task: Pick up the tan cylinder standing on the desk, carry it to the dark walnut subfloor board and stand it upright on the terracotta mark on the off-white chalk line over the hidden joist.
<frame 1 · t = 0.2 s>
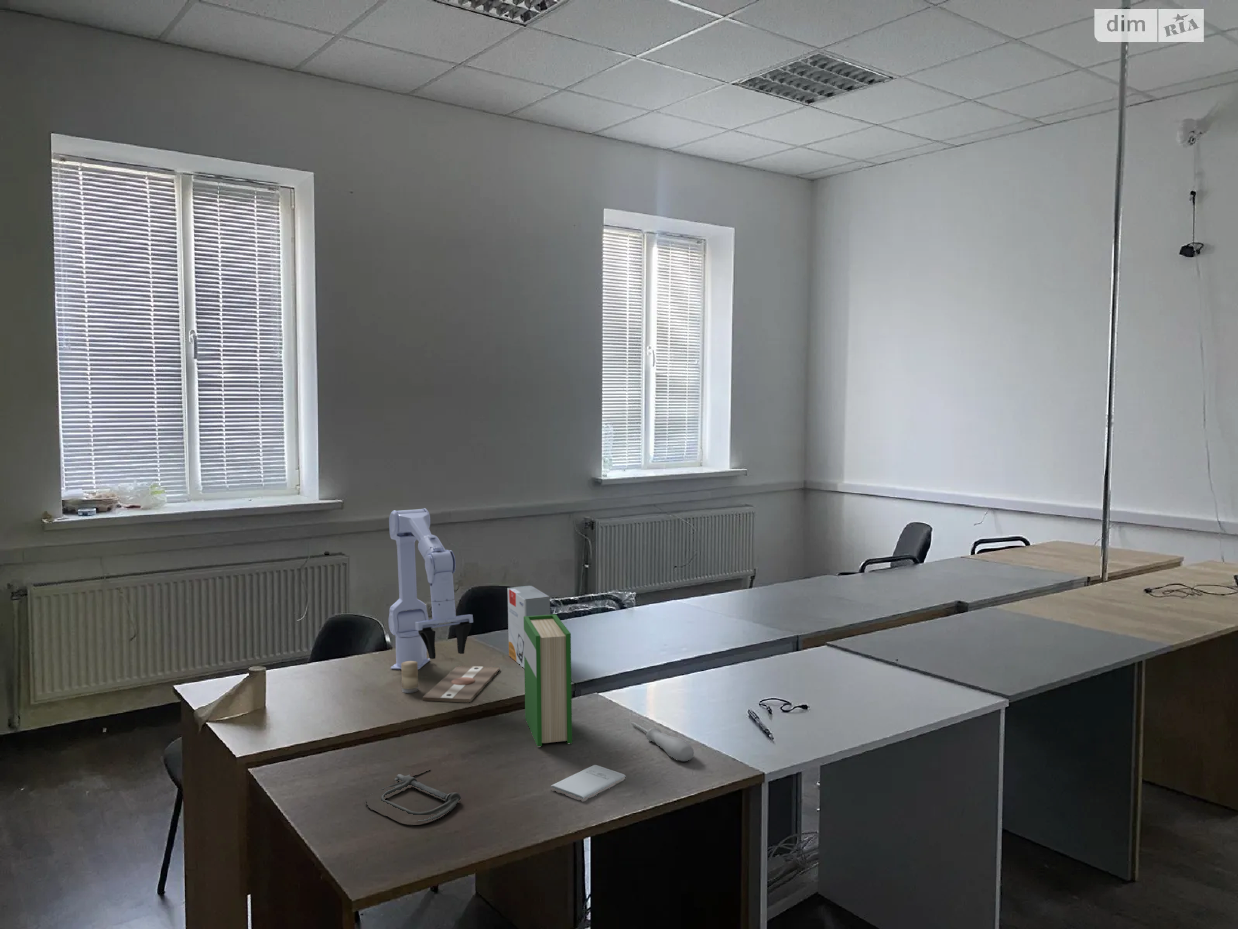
hand: (447, 656, 221), 10 cm above the table, tool pointing down, fingers open, 7 cm apart
hard drive box: (529, 662, 252), on the table
external hard drive: (588, 788, 171), on the table
hardback book: (547, 732, 199), on the table
screwdriver: (658, 746, 191), on the table
subfloor board: (463, 684, 232), on the table
c clamp: (419, 802, 166), on the table
tan cylinder: (410, 690, 227), on the table
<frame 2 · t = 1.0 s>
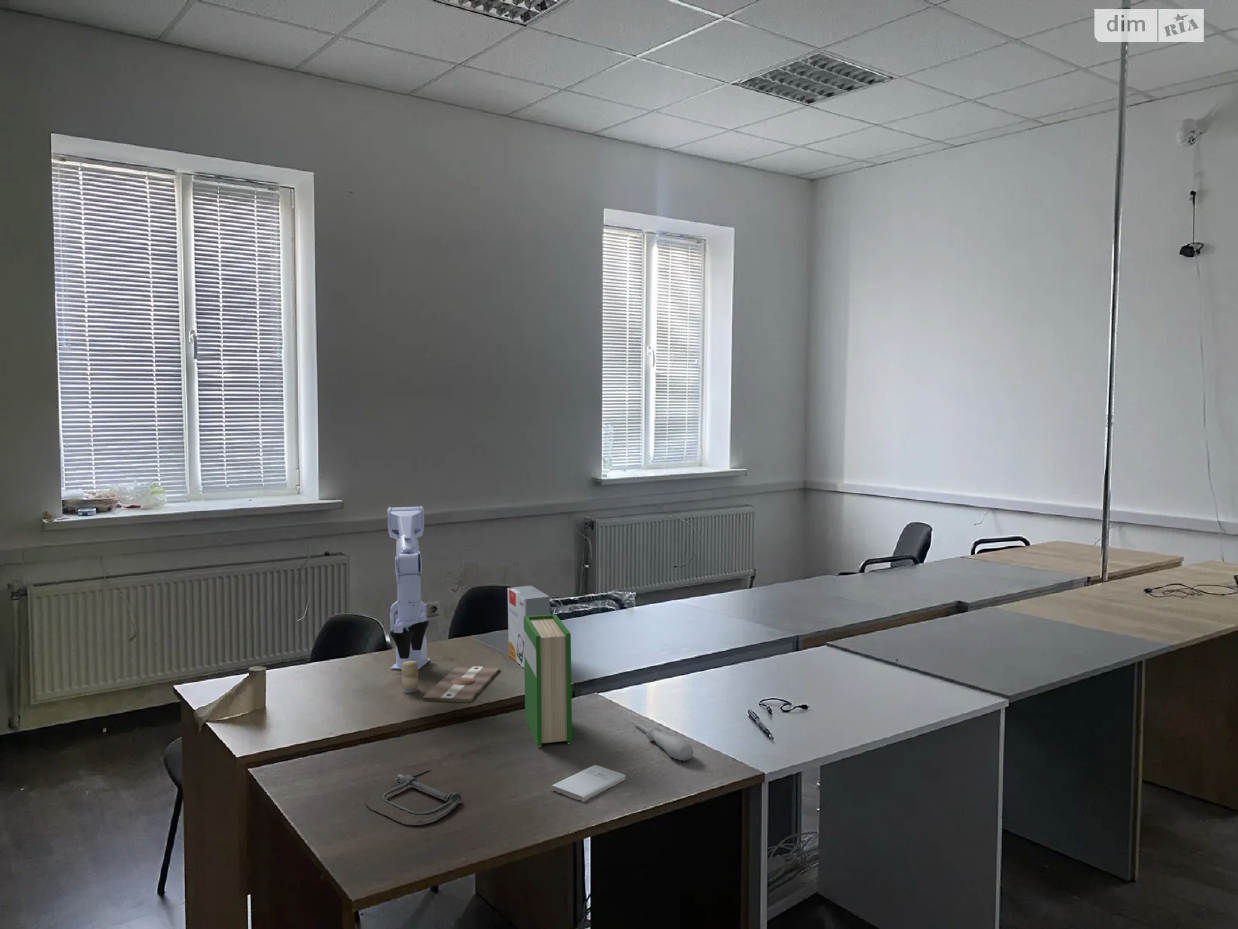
hand: (410, 654, 226), 9 cm above the table, tool pointing down, fingers open, 7 cm apart
nothing on the table moved.
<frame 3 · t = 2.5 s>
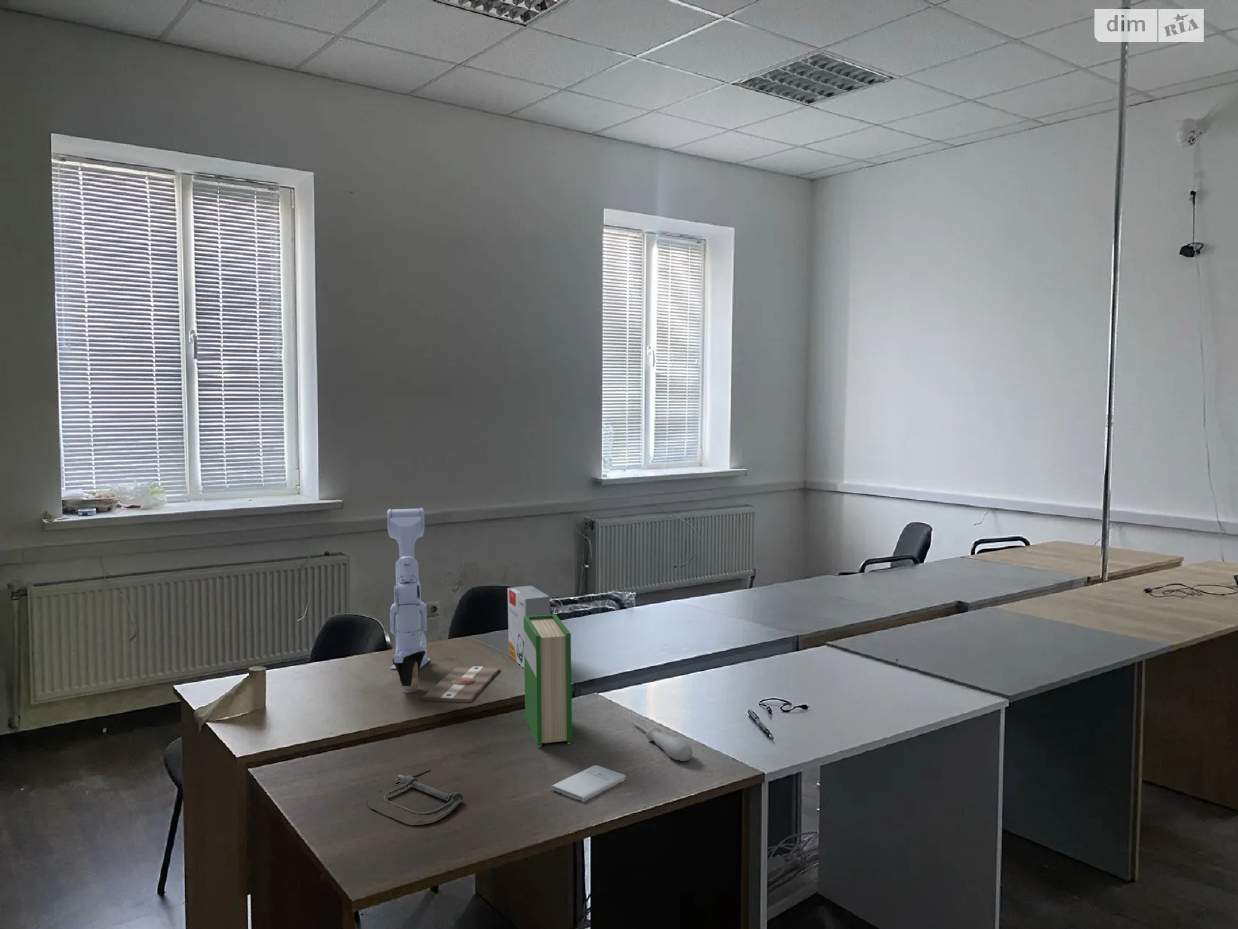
hand: (409, 683, 227), 2 cm above the table, tool pointing down, fingers closed on tan cylinder, 4 cm apart
tan cylinder: (410, 690, 227), on the table, touching gripper
everything else where it was.
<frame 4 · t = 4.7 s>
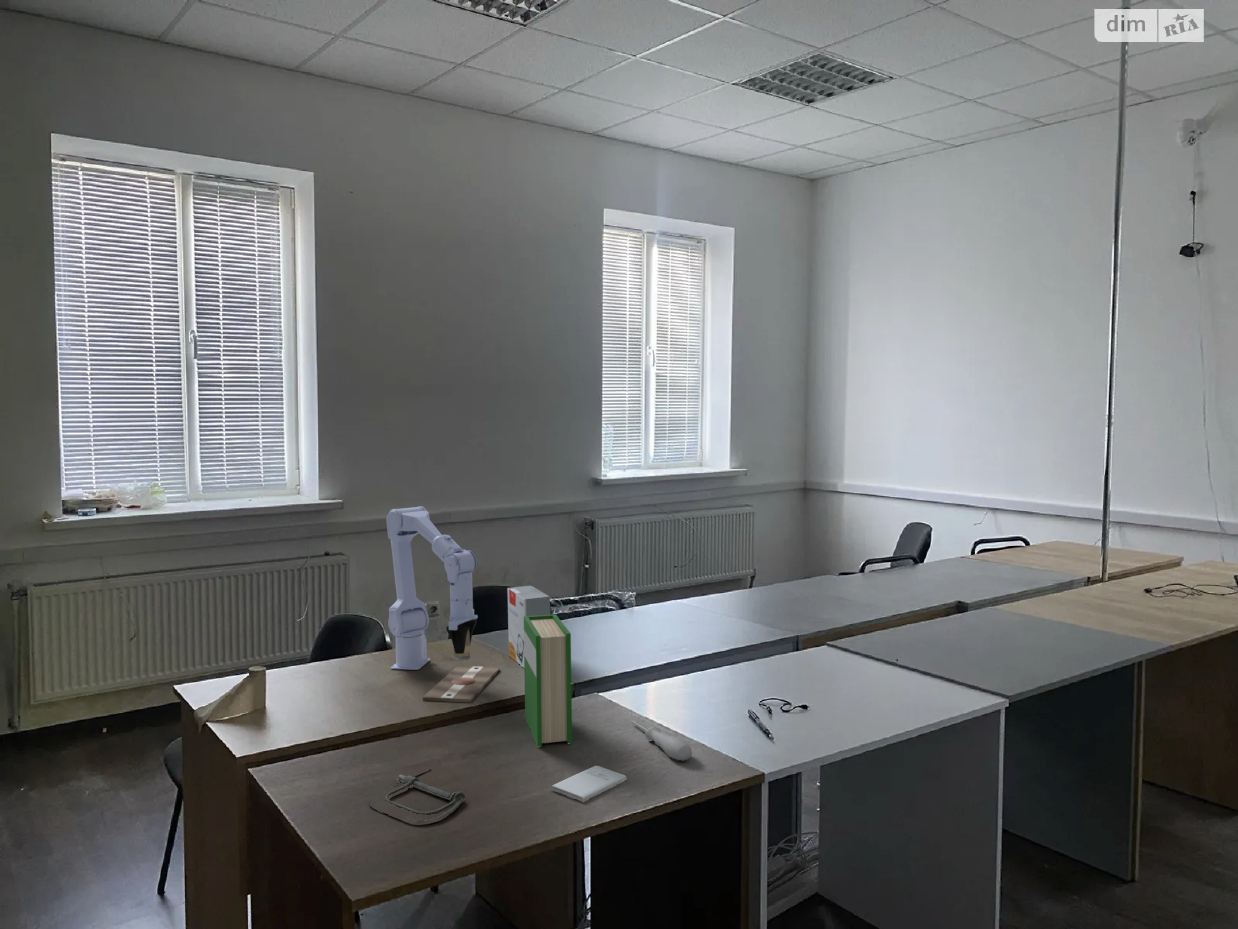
hand: (462, 650, 231), 9 cm above the table, tool pointing down, fingers closed on tan cylinder, 4 cm apart
tan cylinder: (462, 658, 231), point 7 cm above the table, touching gripper
everything else where it was.
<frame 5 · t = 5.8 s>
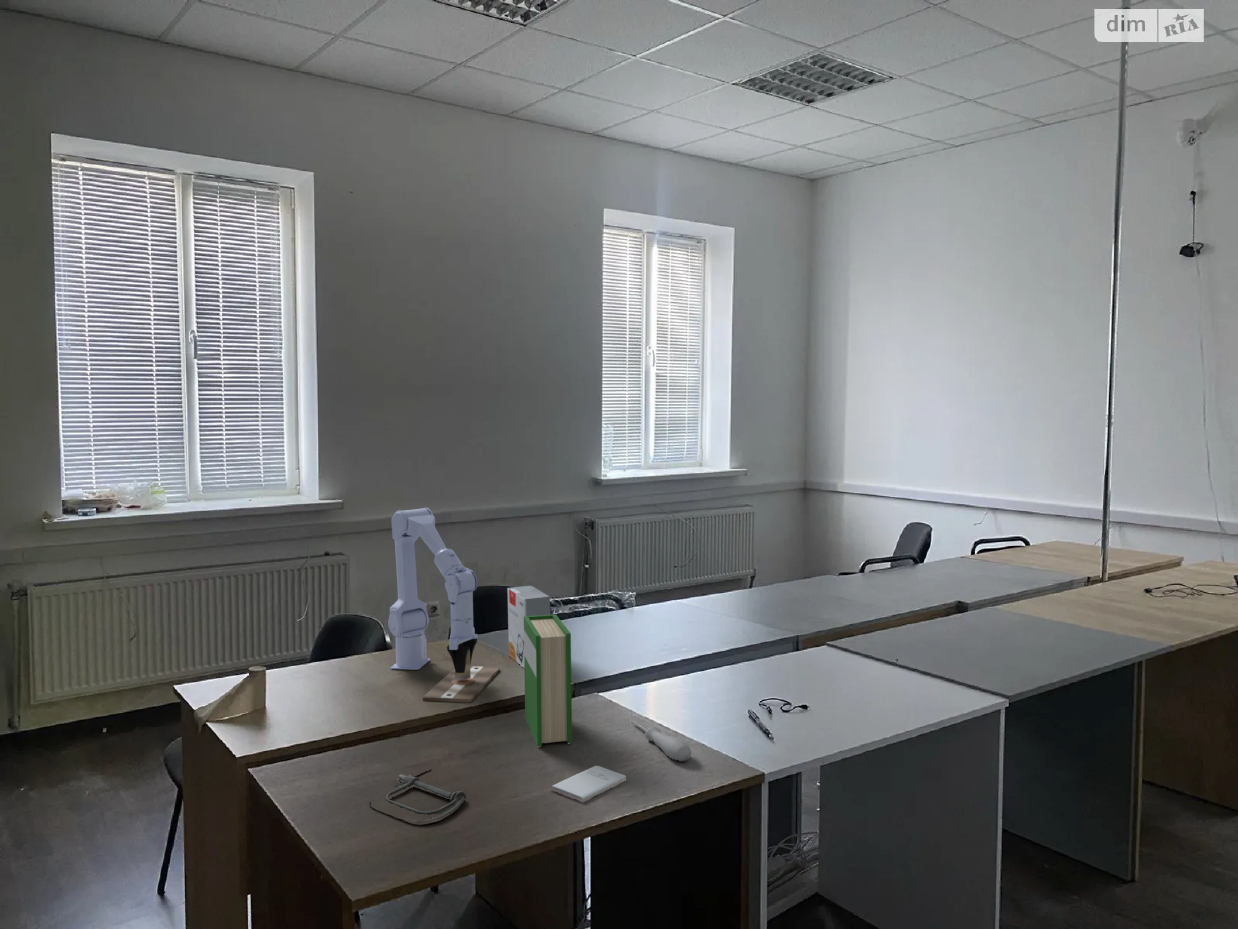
hand: (462, 669, 231), 4 cm above the table, tool pointing down, fingers closed on tan cylinder, 4 cm apart
tan cylinder: (462, 677, 232), point 2 cm above the table, touching gripper
everything else where it was.
when the fingers open (4 cm above the table, at t = 6.4 s): tan cylinder stays where it is, resting on subfloor board.
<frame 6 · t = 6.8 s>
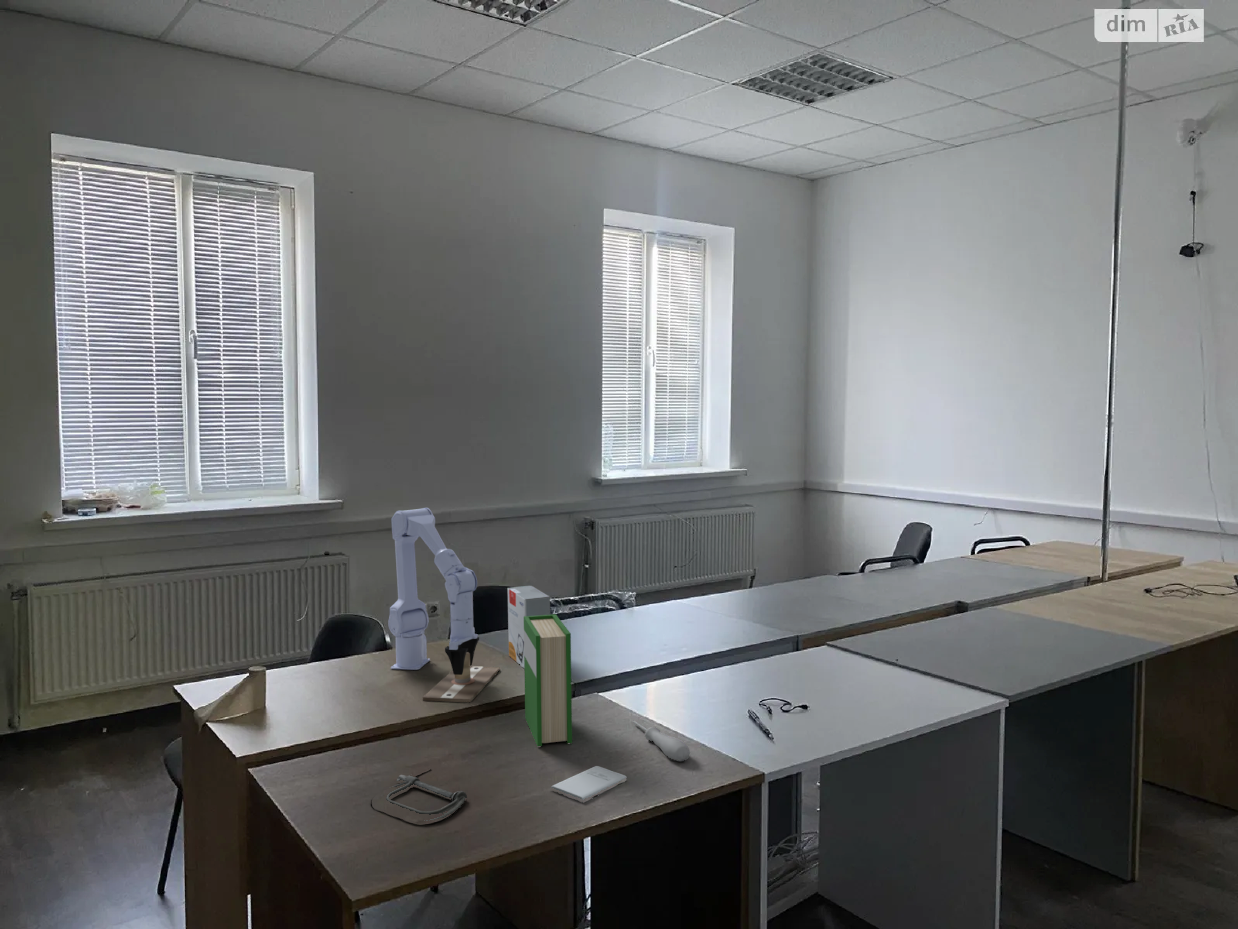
hand: (462, 669, 231), 4 cm above the table, tool pointing down, fingers open, 7 cm apart
tan cylinder: (462, 680, 232), point 1 cm above the table, touching subfloor board
everything else where it was.
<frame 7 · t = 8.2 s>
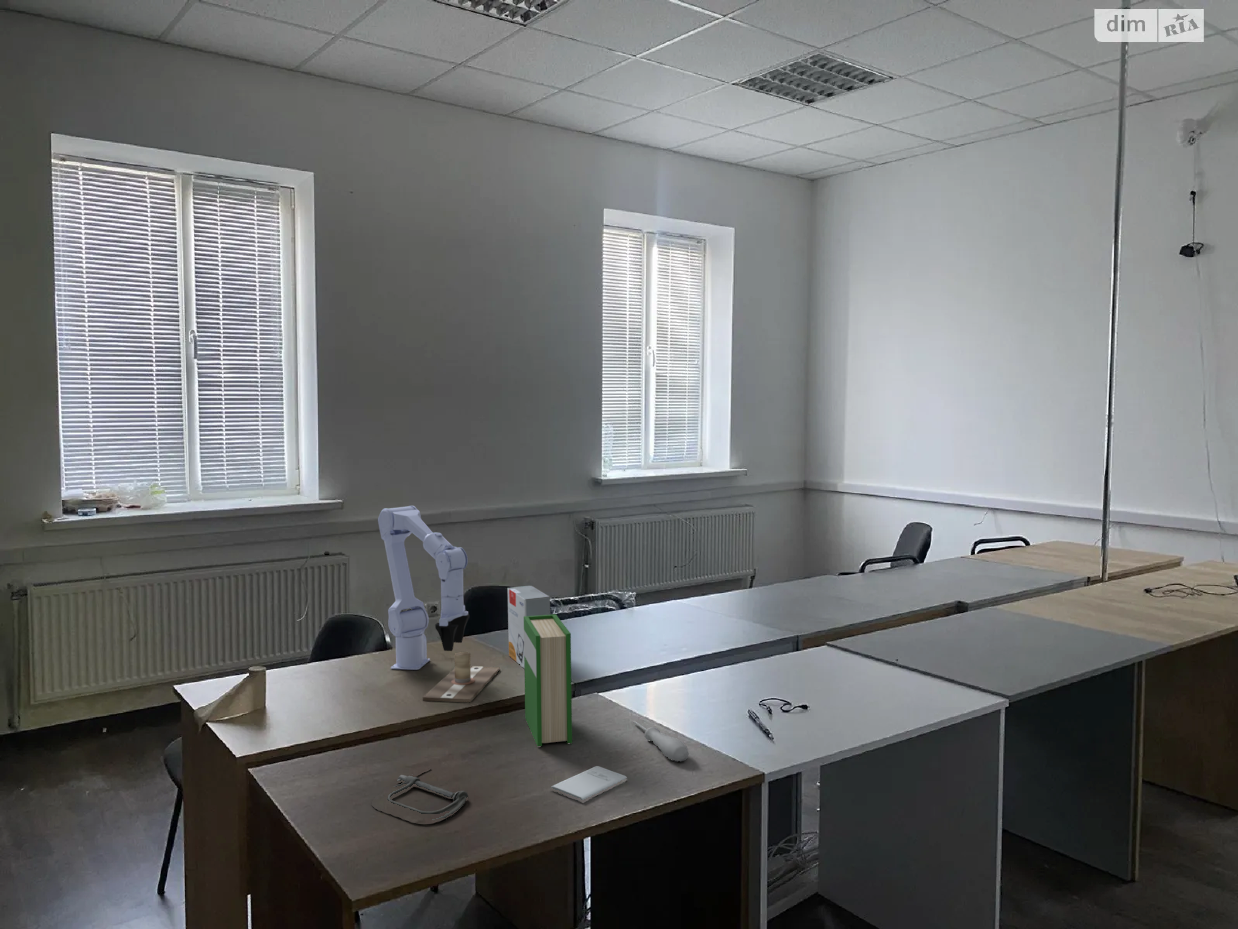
hand: (453, 646, 234), 9 cm above the table, tool pointing down, fingers open, 7 cm apart
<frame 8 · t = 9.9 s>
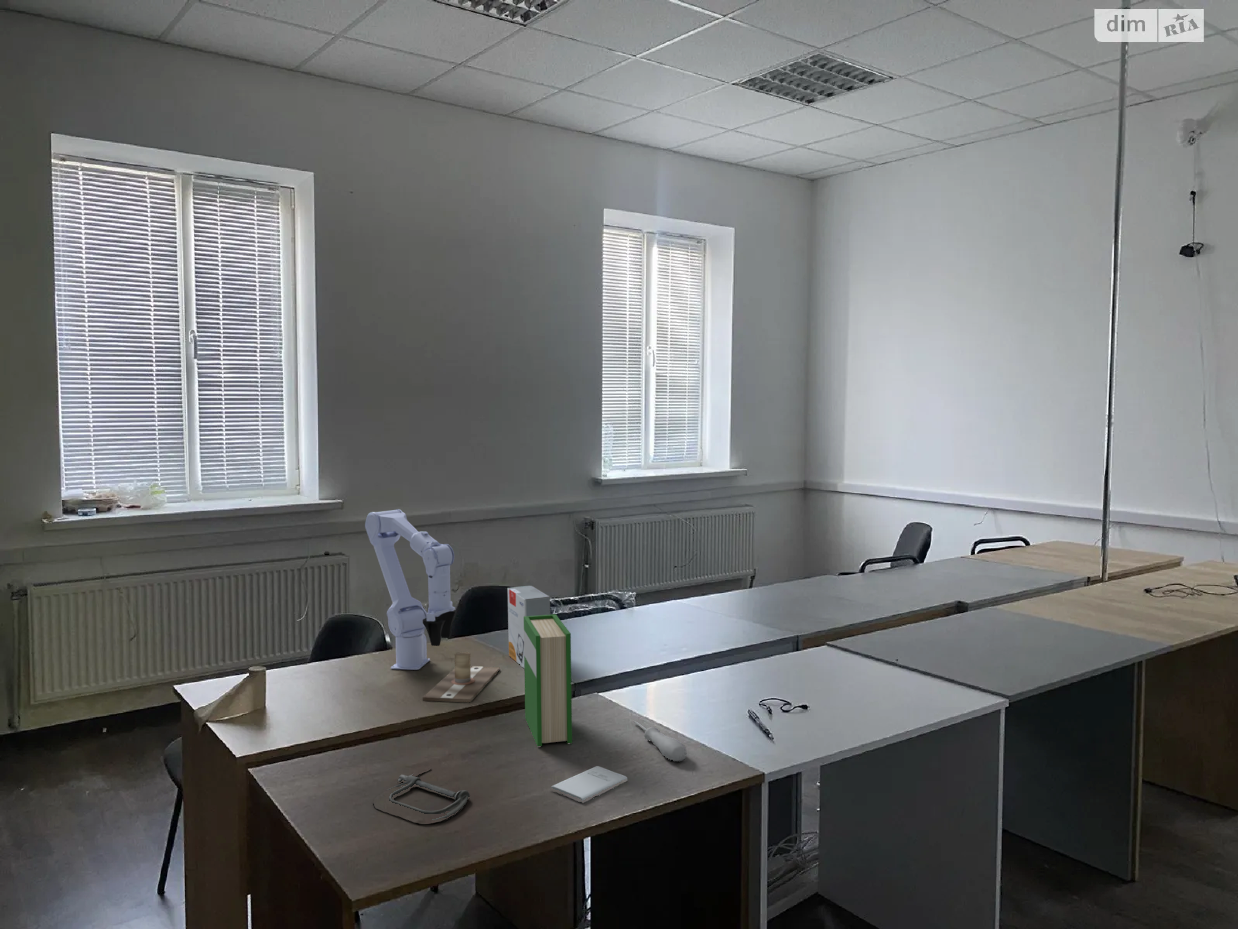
hand: (440, 641, 238), 9 cm above the table, tool pointing down, fingers open, 7 cm apart
at the end: tan cylinder 0.1 cm off-centre on the subfloor board, point 1.0 cm above the subfloor board's base; tan cylinder tilted 0°; the gripper is holding nothing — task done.
